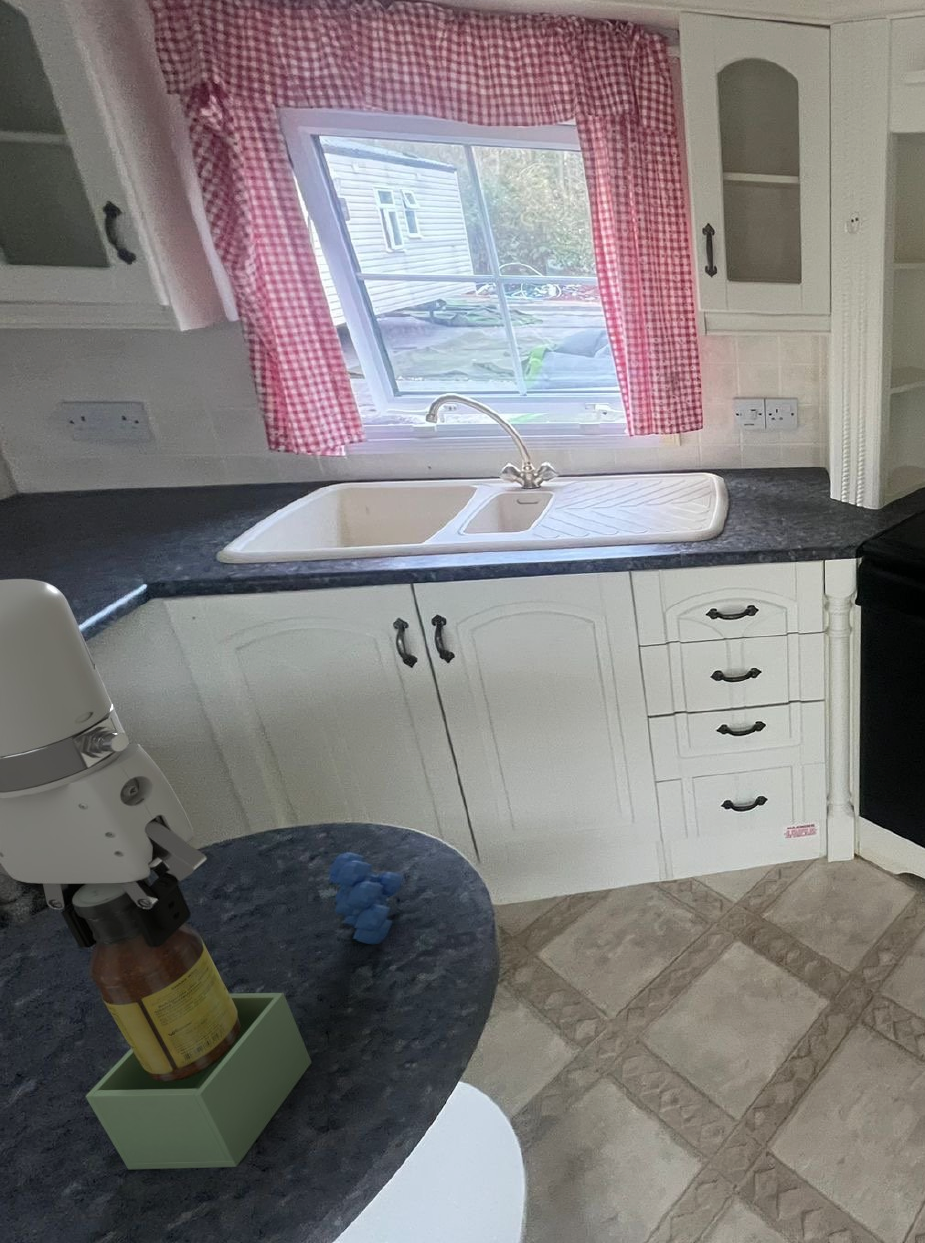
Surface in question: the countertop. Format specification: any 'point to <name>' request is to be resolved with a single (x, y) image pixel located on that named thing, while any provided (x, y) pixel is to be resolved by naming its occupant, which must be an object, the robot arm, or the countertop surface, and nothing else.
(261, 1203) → the countertop surface
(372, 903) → the grapes
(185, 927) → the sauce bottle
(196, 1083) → the bin
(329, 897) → the countertop surface
